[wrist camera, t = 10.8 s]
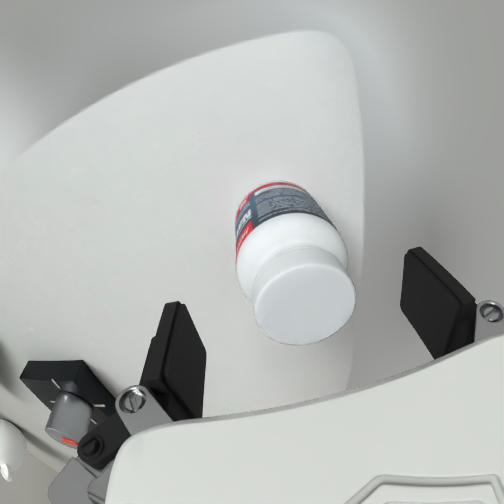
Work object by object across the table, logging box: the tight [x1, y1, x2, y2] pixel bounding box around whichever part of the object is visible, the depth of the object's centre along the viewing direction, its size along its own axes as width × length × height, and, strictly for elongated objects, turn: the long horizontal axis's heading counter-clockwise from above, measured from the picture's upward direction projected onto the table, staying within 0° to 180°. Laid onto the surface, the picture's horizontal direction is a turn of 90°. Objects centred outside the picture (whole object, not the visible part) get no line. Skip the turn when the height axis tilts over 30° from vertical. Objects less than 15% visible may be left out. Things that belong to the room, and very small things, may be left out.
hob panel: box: [20, 360, 117, 433], centre depth 26 cm, size 14×11×3 cm
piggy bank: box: [0, 419, 27, 482], centre depth 30 cm, size 12×12×15 cm
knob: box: [45, 392, 93, 449], centre depth 21 cm, size 4×4×5 cm
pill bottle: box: [235, 181, 356, 345], centre depth 14 cm, size 5×5×9 cm
